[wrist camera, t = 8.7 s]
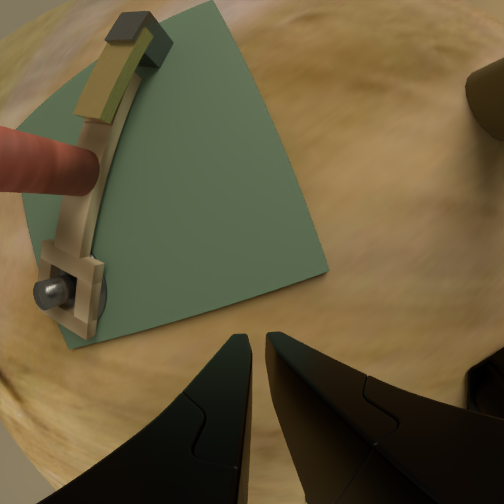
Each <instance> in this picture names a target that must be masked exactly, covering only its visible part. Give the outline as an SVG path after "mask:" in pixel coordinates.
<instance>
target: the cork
mask: <svg viewBox="0 0 504 504" xmlns="http://www.w3.org/2000/svg"><path fill="white" fill-rule="evenodd" d="M466 96H467V99H468V102H469V105H470V108H471V110H472V112H473V114H474V115H475V117H476V119H477V120H478V122H479V123H480V124H481V126H482V127H483V128H484V129H485V130H486V131H487V132H488V133H489V134H490V135H491V136H493V137H495V138H497V139H499V140H504V58H502V59H500V60H498V61H496V62H493V63H491V64H489V65H487V66H485V67H483V68H481V69H479V70H477V71H475V72H473V73H471V75H470V76H469V77H468V78H467V82H466Z"/></svg>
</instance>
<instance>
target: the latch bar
mask: <svg viewBox="0 0 504 504" xmlns="http://www.w3.org/2000/svg"><path fill="white" fill-rule="evenodd" d="M141 80H142V78H141V77H139V76H138V75H137V74H136V73H135V72H134V73H133V75H132V77H131V79H130V81H129V83H128V85H127V87H126V89H125V91H124V93H123V96H122V98H121V100H120V102H119V104H118V107H117V109H116V111H115V114H114V116H113V118H112V121H111V123H110V124H108V123H104V122H99V121H94V120H88V119H84V121H83V122H84V124H83V127H82V130H81V133H80V136H79V139H78V142H77V145H76V146H73V145H70V144H66V143H63V142H59V141H56V140H52V139H48V138H45V137H41V136H37V135H33V134H30V133H26V132H22V131H18V130H14V129H10V128H6V127H2V126H0V192H17V193H35V194H52V195H63V198H62V203H61V208H60V213H59V218H58V224H57V230H56V236H55V240H54V239H48V240H42V247H41V256H40V266H39V279H38V282H39V281H43V280H46V279H50V278H54V277H58V276H60V269H62V270H63V271H65V272H67V273H69V274H71V275H73V276H75V277H77V287H76V296H75V306H73V305H71V304H69V303H68V302H66V303H64V304H61V305H59V306H56V307H53V308H51V309H48V310H42V309H40V308H39V307H38V305H37V309H39V310H40V311H42V312H43V313H45V314H46V315H47V316H49V317H50V318H52V319H53V320H55V321H56V322H58V323H59V324H61V325H63V326H64V327H66V328H67V329H69V330H70V331H72V332H74V333H75V334H77V335H79V336H80V337H82V338H84V339H85V340H88V339H89V338H91V337H93V336H94V335H96V324H97V315H98V306H99V298H100V291H101V284H102V278H103V271H104V265H105V263H103V262H101V261H99V260H96V259H94V258H92V257H90V251H91V245H92V240H93V234H94V229H95V224H96V220H97V215H98V211H99V206H100V202H101V198H102V194H103V190H104V186H105V183H106V179H107V175H108V172H109V168H110V165H111V162H112V158H113V155H114V152H115V149H116V146H117V143H118V140H119V137H120V134H121V131H122V128H123V125H124V122H125V120H126V117H127V114H128V112H129V109H130V106H131V104H132V101H133V99H134V96H135V94H136V91H137V89H138V87H139V84H140V82H141Z"/></svg>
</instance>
